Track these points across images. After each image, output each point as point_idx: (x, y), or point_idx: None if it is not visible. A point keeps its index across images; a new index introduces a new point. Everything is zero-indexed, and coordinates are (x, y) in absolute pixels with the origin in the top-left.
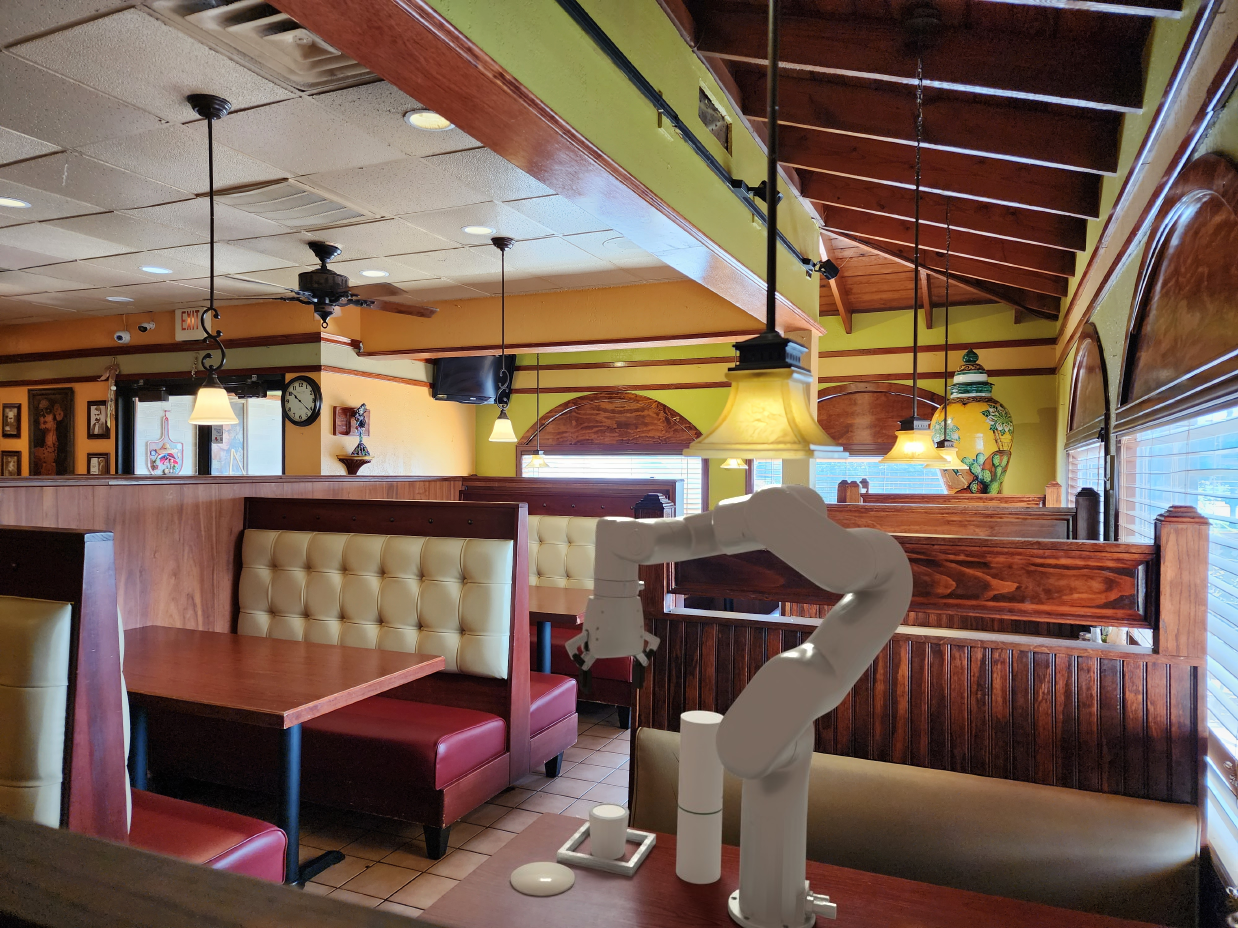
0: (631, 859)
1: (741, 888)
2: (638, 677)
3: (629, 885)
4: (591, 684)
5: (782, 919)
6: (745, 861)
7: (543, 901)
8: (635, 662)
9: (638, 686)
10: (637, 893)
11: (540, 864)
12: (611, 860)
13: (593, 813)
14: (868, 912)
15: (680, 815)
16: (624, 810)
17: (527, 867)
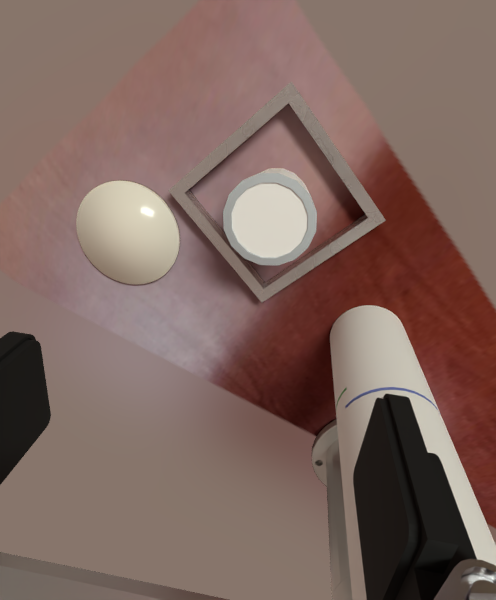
0: (276, 281)
1: (330, 468)
2: (363, 529)
3: (245, 315)
4: (18, 459)
5: None
6: (329, 511)
7: (110, 290)
8: (414, 585)
9: (356, 478)
10: (243, 337)
11: (137, 193)
12: (243, 267)
13: (228, 218)
14: None
15: (336, 393)
16: (303, 235)
17: (113, 193)
